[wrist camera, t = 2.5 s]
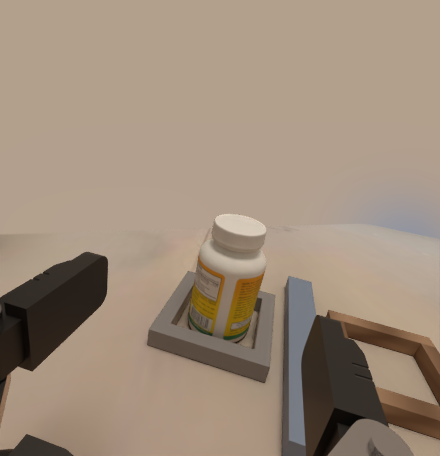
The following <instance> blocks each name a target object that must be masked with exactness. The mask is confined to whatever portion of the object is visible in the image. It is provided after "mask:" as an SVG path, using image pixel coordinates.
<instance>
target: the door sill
mask: <svg viewBox="0 0 440 456" xmlns="http://www.w3.org/2000/svg"><path fill="white" fill-rule="evenodd" d="M315 317H316V312H315V304H314V297H313V290H312V283H311V282H309V281H305V280H302V279H298V278H294V277H290V276H289V277H288V280H287V283H286V286H285V325H284V376H283V427H282V456H306V446H305V428H304V411H303V393H302V376H301V360H302V354H303V350H304V347H305V344H306V341H307V338H308V335H309V333H310V330H311V327H312V324H313V321H314V319H315Z"/></svg>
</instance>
